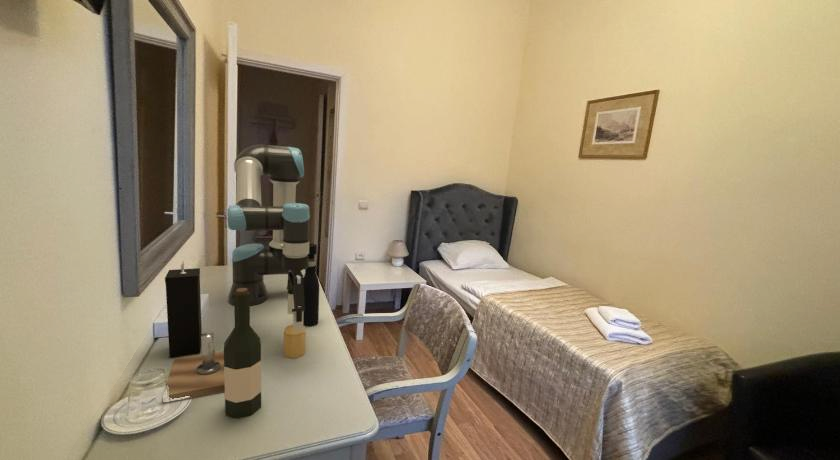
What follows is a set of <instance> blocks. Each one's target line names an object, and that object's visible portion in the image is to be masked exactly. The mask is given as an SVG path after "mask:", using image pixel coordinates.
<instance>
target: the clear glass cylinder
mask: <svg viewBox="0 0 840 460" xmlns="http://www.w3.org/2000/svg"><path fill="white" fill-rule="evenodd" d="M215 352H216V350H215V333H214V332H209V331H208V332H205V333H202V335H201V354H202V364H201V365H199V366H198V367H197V373H198V374H200V375H208V374H212V373H215V372H217V371H218V370H219V369H220V367H221V366H220V363H219V362H215Z"/></svg>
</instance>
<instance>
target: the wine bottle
mask: <svg viewBox="0 0 840 460" xmlns="http://www.w3.org/2000/svg"><path fill="white" fill-rule="evenodd" d="M317 247H318V246H317V244H316V243H309V254H308V256H309V266H308V268H307V269H304V271H305V272H304V274H303V277H304V279H303V285H304V302H305V311H304V317H303V326H304V327H314V326H317V325H318V324H319V316H320V315H319V311H320V310H319V309H320V308H319V305H320V282H319V278H318V274H317V265H316V260H315V255H317V254H318V253H317Z"/></svg>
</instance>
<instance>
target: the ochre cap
mask: <svg viewBox="0 0 840 460" xmlns="http://www.w3.org/2000/svg"><path fill="white" fill-rule="evenodd" d="M306 335H307V332H306V326H303V331H299V332H293V324H291V325H290V324H289V325H287V326H286V327H285V328H284V329H283V355H284V357H286V358H290V359H294V358H295V359H296V358H300V357H302V356H303V355H305V354H306V348H307V347H306V342H307V341H306V338H307V337H306Z"/></svg>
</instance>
